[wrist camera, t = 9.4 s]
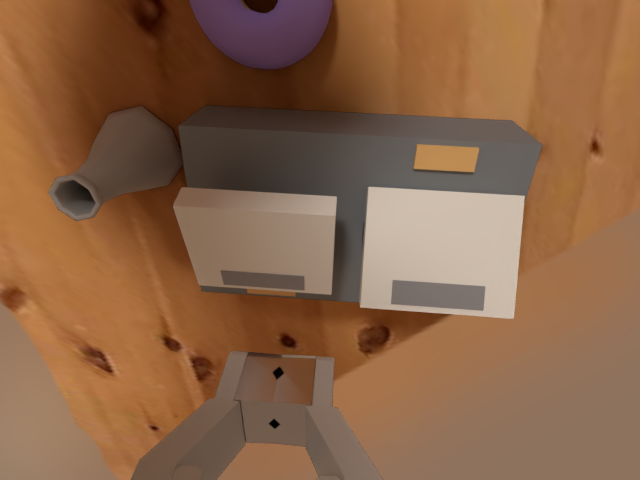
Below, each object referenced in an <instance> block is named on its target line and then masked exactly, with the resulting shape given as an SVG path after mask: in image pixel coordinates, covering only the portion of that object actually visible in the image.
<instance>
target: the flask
mask: <svg viewBox="0 0 640 480" xmlns="http://www.w3.org/2000/svg"><path fill="white" fill-rule="evenodd" d="M182 166H183V157H182V153H181V150H180V148H179V145H178V143H177V140H176V138H175V135H174V133H173V130H172V129H171V128H170V127H168V126H167V125H166V124H164V123H163V122H162V121H161V120H159V119H158V118H157V117H155V116H154V115H153V114H151V113H150V112H149V111H148V110H146V109H145V108H144V107H142V106H138V107H134V108H130V109H125V110H121V111H117V112H113V113H109V115H108V117H107V119H106V121H105V122H104V124H103V126H102V128H101V129H100V131H99V133H98V135H97V137H96V138H95V140H94V142H93V145H92V147H91V150H90V153H89V155H88V157H87V159H86V161H85V162H84V163H83V164H82V166H81V167H80V168H79V169H78V170H77V171H76V172H74V173H73V174H70V175H66V176H61V177H57V178H56V179H55V181H54V183H53V184H52V186H51V188H50V190H49V192H48V193H49V195H50V196H51V198H52V200H53V201H54V203H55V205H56V206H57V208H58V210H60V211H61V212H63V213H64V214H66V215H68V216H69V217H71V218H72V219H74V220H75V221H79V220H84V219H90V218H93V217H95V215H96V214H97V212H98V210H99V209H100V207H101V206H102V204H103V203H104V202H106V201H108V200H110V199H112V198H114V197H117V196H119V195H121V194H126V193H130V192H137V191H142V190H147V189H152V188H157V187H162V186H167V185H169V184H170V183H171V181H172V180H173V178H174V177H175V176H176V174H177V173H178V171H179V170H180V169H181V167H182Z"/></svg>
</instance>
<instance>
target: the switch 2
mask: <svg viewBox="0 0 640 480" xmlns="http://www.w3.org/2000/svg"><path fill="white" fill-rule="evenodd" d="M524 198H525V196H519V195H502V194H485V193H468V192H451V191H434V190H417V189H400V188H383V187H368V188H367V193H366V208H365V223H364V237H363V252H362V266H361V281H360V296H359V304H360V308H373V309H387V310H400V311H414V312H428V313H442V314H455V315H470V316H484V317H496V318H510V319H513V318H514V310H515V298H516V287H517V276H518V265H519V254H520V243H521V232H522V220H523V209H524Z"/></svg>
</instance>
